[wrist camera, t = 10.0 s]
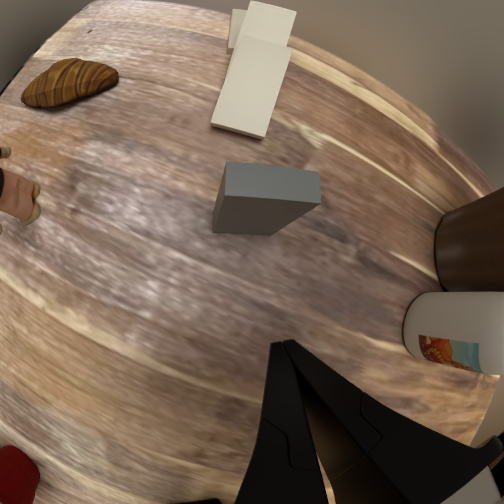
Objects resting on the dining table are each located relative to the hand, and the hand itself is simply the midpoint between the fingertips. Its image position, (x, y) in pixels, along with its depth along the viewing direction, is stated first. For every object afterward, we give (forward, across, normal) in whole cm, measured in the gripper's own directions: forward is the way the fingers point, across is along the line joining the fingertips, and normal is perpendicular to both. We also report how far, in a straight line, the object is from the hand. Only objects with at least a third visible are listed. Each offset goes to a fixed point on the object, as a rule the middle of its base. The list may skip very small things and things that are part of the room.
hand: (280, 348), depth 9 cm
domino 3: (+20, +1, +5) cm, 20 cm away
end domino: (+15, +1, -2) cm, 15 cm away
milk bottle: (+8, +20, -14) cm, 26 cm away
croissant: (+25, -18, +13) cm, 33 cm away
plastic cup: (-2, -31, -21) cm, 37 cm away
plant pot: (+13, +29, -9) cm, 33 cm away
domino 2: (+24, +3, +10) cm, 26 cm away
